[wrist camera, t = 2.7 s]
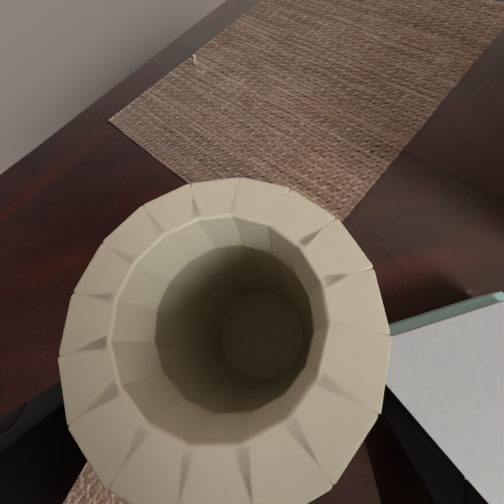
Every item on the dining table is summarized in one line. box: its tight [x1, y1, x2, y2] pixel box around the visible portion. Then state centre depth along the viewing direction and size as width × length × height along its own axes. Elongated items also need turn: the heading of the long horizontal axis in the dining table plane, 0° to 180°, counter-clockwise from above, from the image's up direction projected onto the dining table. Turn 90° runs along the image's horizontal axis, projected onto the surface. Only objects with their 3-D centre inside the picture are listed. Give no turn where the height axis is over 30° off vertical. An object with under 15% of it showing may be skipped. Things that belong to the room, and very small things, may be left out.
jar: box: [58, 177, 392, 504], centre depth 12 cm, size 7×7×14 cm
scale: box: [385, 291, 504, 504], centre depth 14 cm, size 10×10×3 cm
